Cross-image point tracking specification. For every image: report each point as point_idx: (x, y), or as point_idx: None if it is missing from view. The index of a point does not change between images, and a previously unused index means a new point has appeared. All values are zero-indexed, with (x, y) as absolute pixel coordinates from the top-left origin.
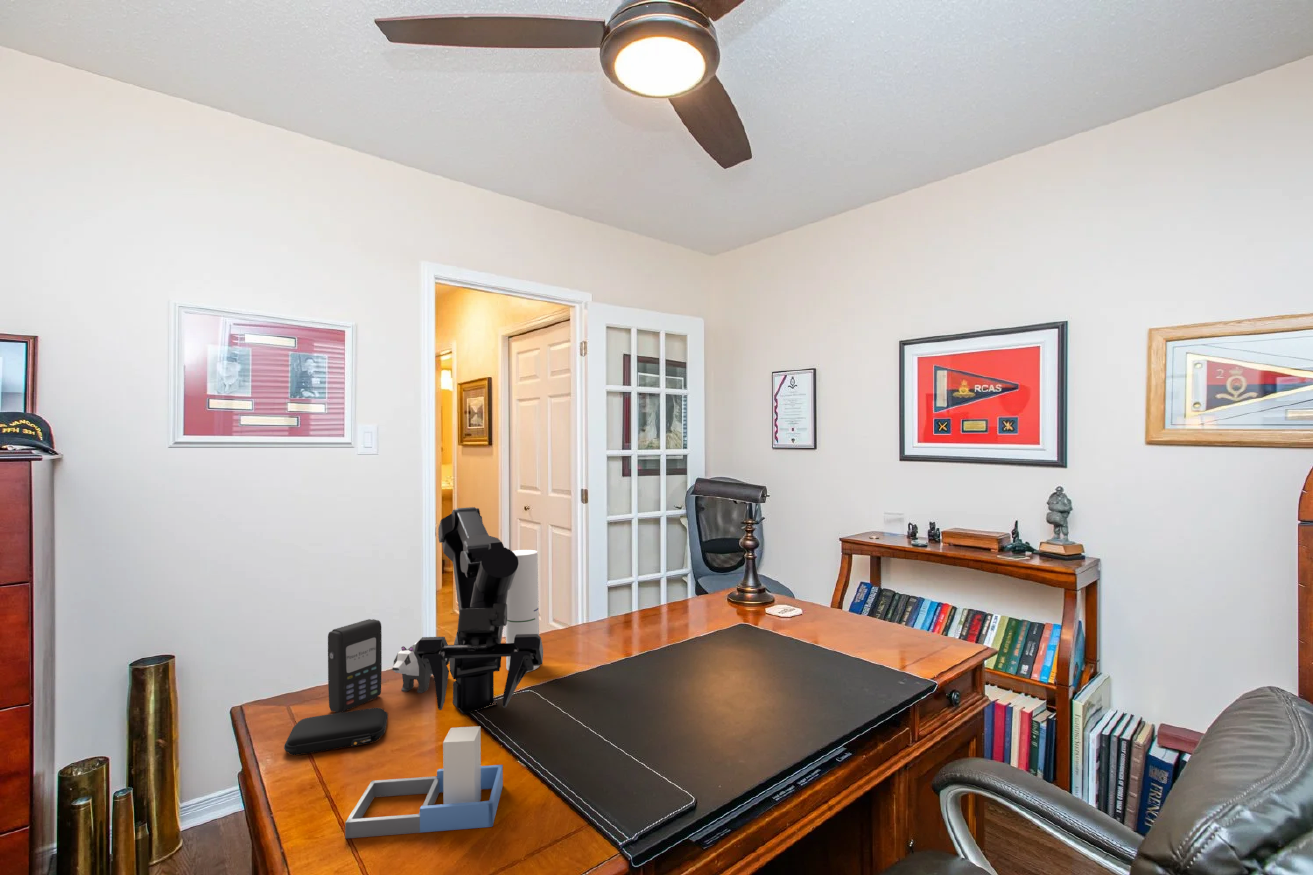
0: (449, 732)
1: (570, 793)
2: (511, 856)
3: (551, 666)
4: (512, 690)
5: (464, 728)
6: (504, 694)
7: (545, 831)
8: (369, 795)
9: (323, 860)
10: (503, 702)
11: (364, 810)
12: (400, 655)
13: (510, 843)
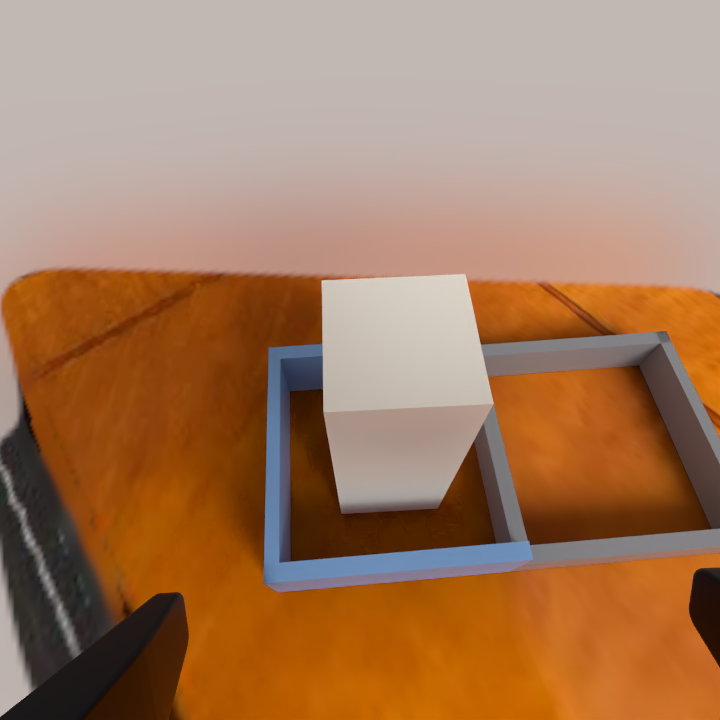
0: (477, 356)
1: (39, 528)
2: (222, 291)
3: None
4: None
5: (410, 393)
6: (134, 644)
7: (141, 360)
8: (714, 484)
9: (634, 294)
10: (167, 601)
11: (682, 449)
12: None
13: (227, 326)
